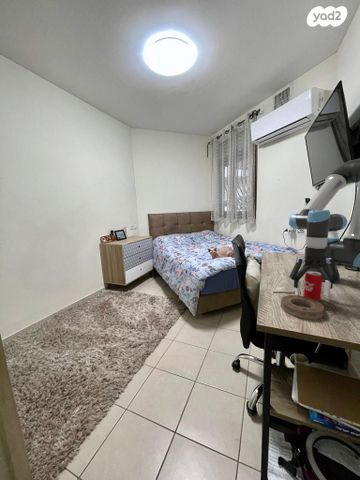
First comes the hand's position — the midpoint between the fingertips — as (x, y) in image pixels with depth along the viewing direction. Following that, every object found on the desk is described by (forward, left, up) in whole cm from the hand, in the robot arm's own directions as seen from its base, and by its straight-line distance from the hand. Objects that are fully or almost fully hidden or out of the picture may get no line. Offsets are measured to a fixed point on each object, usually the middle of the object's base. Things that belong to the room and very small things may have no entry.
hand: (311, 295), depth 84 cm
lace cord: (+8, -6, -2) cm, 10 cm away
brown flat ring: (+9, +10, -2) cm, 14 cm away
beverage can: (0, 0, -2) cm, 2 cm away
